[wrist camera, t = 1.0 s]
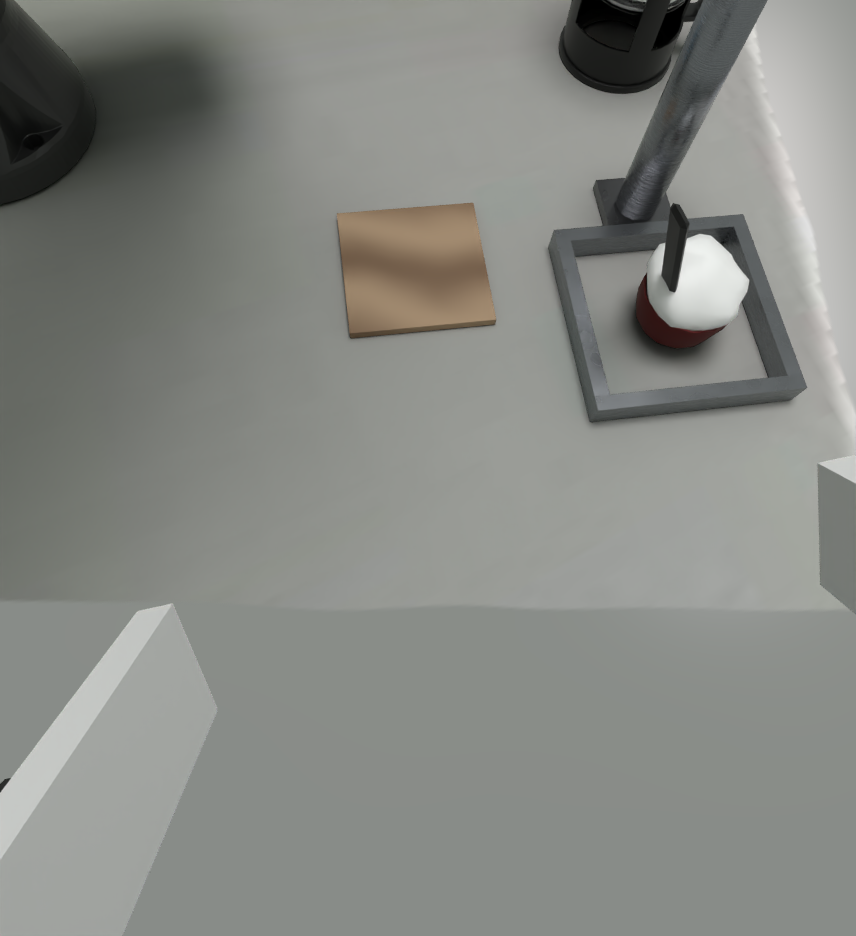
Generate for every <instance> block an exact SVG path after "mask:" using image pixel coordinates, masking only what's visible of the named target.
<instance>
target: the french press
mask: <svg viewBox="0 0 856 936" xmlns="http://www.w3.org/2000/svg"><path fill="white" fill-rule="evenodd" d="M690 1H691V0H572V2H571V6H570V10H569V14H568V18H567V23H566V25H565V27H564V29H563V31H562V33H561V36H560V41H559V51H560V56H561V59H562V61H563V63H564V65H565V66H566V68H567V69H568V70H569V71H570V72H571V73H572V74H573V75H574V76H575V77H576V78H577V79H579V80H580V81H582V82H583V83H585V84H587V85H589V86H591V87H593V88H596V89H599V90H602V91H607V92H613V93H631V92H638V91H641V90H644V89H647V88H649V87H651V86H653V85H655V84H656V83H657V82H658V81H659V80H660V79H662V77H663V76H664V75H665V73H666V72H667V70H668V67H669V64H670V62H671V53H672V51H673V49H674V46H675V44H676V41H677V39H678V37H679V34H680V32H681V29H682V26H683V22H691V21H694V20H695V18H696V16H697V13H698V11H699V9H700V6H701V4H702V2H703V0H698V1H697V2H695V3H690ZM602 20H617V21H622V22H626V23H629V24H631V25H633V26H636V27H637V29H636V32H635V35H634V38H633V41H632V43H631V46H630V49H629V51H626V50H620V49H616V48H613V47H609V46H607V45H605V44H602V43H600V42H598V41H597V40H595V39H594V38H592V37H591V36H589V35H588V34H587V33H586V32H585V31H584V30H583V29H582V28H584V27H585V26H587V25H589V24H591V23H593V22H597V21H602ZM653 45H654V46H655V49H652V47H653Z"/></svg>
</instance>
